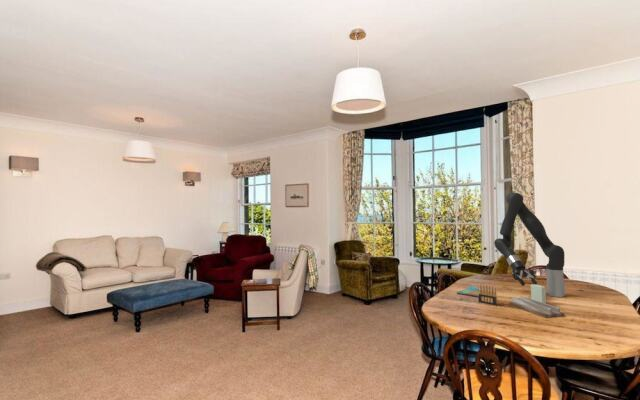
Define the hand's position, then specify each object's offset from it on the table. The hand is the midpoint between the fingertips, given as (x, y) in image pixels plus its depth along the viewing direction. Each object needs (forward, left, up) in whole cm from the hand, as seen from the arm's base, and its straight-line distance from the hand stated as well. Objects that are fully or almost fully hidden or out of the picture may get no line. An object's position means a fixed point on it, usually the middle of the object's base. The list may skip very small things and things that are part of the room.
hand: (530, 284), depth 217 cm
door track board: (+12, +16, -10) cm, 22 cm away
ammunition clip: (+28, -3, -11) cm, 30 cm away
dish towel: (+18, -28, -11) cm, 35 cm away
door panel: (0, +6, -10) cm, 12 cm away
